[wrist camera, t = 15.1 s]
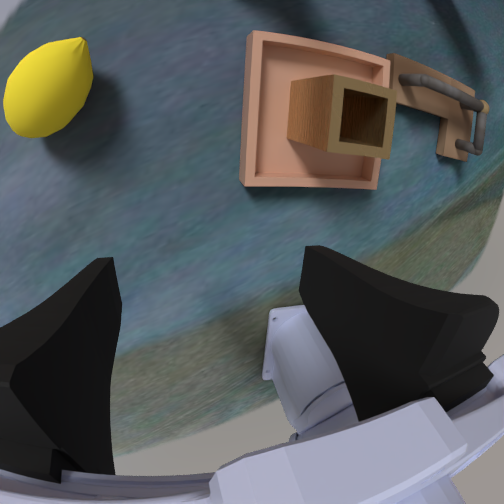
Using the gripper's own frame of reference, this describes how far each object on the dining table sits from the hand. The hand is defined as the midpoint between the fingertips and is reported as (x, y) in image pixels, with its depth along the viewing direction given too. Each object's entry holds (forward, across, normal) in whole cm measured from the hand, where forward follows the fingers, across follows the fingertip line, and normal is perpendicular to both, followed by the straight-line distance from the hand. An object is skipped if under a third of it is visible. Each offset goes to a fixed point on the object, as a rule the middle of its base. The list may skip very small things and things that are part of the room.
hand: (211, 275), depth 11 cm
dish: (+10, -8, -6) cm, 14 cm away
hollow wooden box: (+10, -8, -6) cm, 14 cm away
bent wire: (+10, -19, -8) cm, 23 cm away
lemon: (+11, +9, -8) cm, 16 cm away
